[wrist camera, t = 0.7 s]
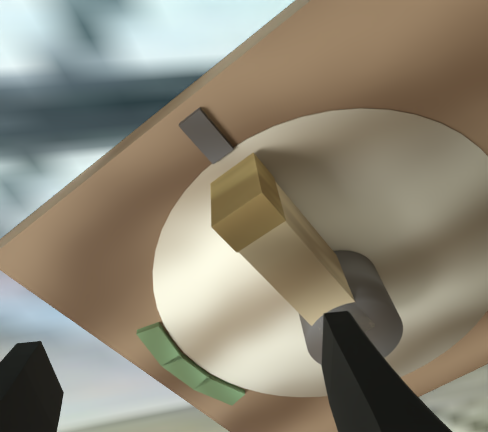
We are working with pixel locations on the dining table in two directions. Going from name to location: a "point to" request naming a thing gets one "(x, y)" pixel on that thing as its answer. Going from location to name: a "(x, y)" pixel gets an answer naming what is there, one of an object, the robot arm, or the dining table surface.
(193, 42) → the dining table surface
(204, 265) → the board
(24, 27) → the dining table surface
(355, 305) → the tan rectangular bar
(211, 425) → the dining table surface
